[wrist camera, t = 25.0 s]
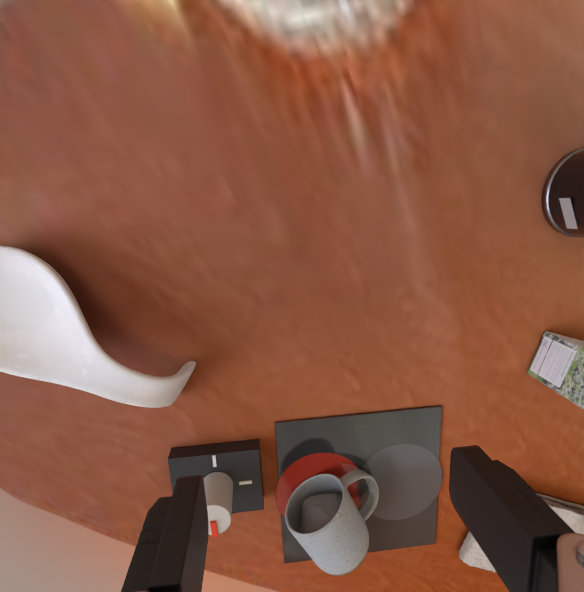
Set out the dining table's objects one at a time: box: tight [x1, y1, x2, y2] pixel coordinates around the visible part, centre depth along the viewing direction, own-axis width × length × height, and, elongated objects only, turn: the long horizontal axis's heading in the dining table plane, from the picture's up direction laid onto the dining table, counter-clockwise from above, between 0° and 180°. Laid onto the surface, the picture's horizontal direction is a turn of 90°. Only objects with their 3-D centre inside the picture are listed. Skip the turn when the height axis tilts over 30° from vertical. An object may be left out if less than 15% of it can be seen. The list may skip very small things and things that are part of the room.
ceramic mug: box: [285, 470, 379, 576], centre depth 44 cm, size 11×8×8 cm
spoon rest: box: [0, 246, 196, 408], centre depth 37 cm, size 24×12×7 cm, turn 60°
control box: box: [168, 439, 264, 513], centre depth 45 cm, size 10×8×2 cm
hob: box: [275, 406, 442, 563], centre depth 48 cm, size 21×20×1 cm
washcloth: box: [459, 493, 584, 572], centre depth 51 cm, size 12×18×3 cm, turn 71°
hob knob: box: [204, 472, 233, 537], centre depth 41 cm, size 4×4×5 cm
